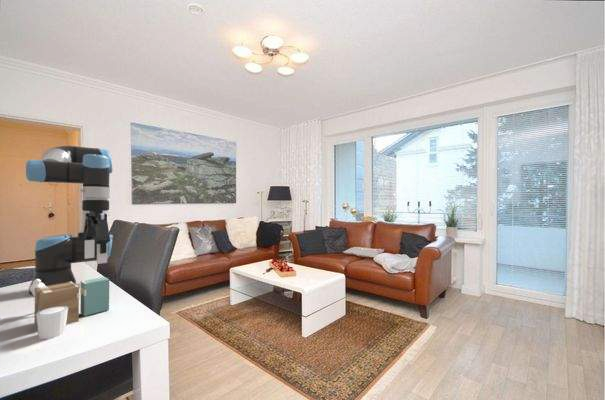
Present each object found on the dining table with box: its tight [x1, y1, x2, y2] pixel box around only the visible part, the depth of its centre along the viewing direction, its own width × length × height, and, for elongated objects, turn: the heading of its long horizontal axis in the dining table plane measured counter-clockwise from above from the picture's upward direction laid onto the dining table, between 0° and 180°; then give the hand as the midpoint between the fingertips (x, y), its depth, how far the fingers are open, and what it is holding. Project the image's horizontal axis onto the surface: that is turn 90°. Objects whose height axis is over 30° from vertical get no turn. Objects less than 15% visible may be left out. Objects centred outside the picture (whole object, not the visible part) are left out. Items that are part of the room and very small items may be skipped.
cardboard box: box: [34, 281, 80, 329], centre depth 86 cm, size 9×9×11 cm
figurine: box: [29, 279, 45, 317], centre depth 92 cm, size 7×4×12 cm, turn 45°
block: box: [79, 276, 110, 317], centre depth 94 cm, size 5×7×11 cm, turn 142°
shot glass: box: [36, 306, 68, 340], centre depth 79 cm, size 7×7×7 cm
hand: (95, 260), depth 94 cm, fingers open, 13 cm apart
